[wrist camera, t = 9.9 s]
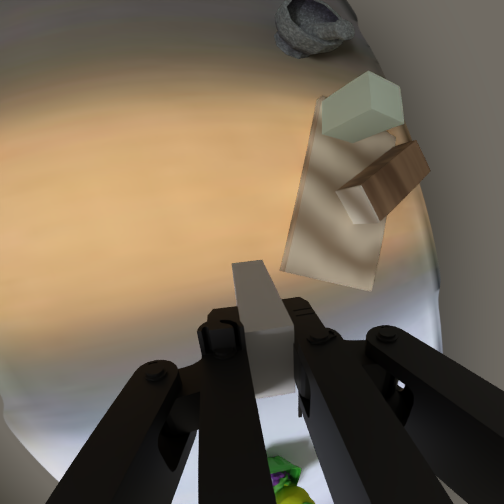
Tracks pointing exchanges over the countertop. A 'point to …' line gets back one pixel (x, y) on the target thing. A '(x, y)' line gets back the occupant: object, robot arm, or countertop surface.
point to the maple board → (333, 212)
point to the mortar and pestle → (309, 28)
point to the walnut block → (383, 183)
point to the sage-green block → (362, 109)
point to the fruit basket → (287, 482)
